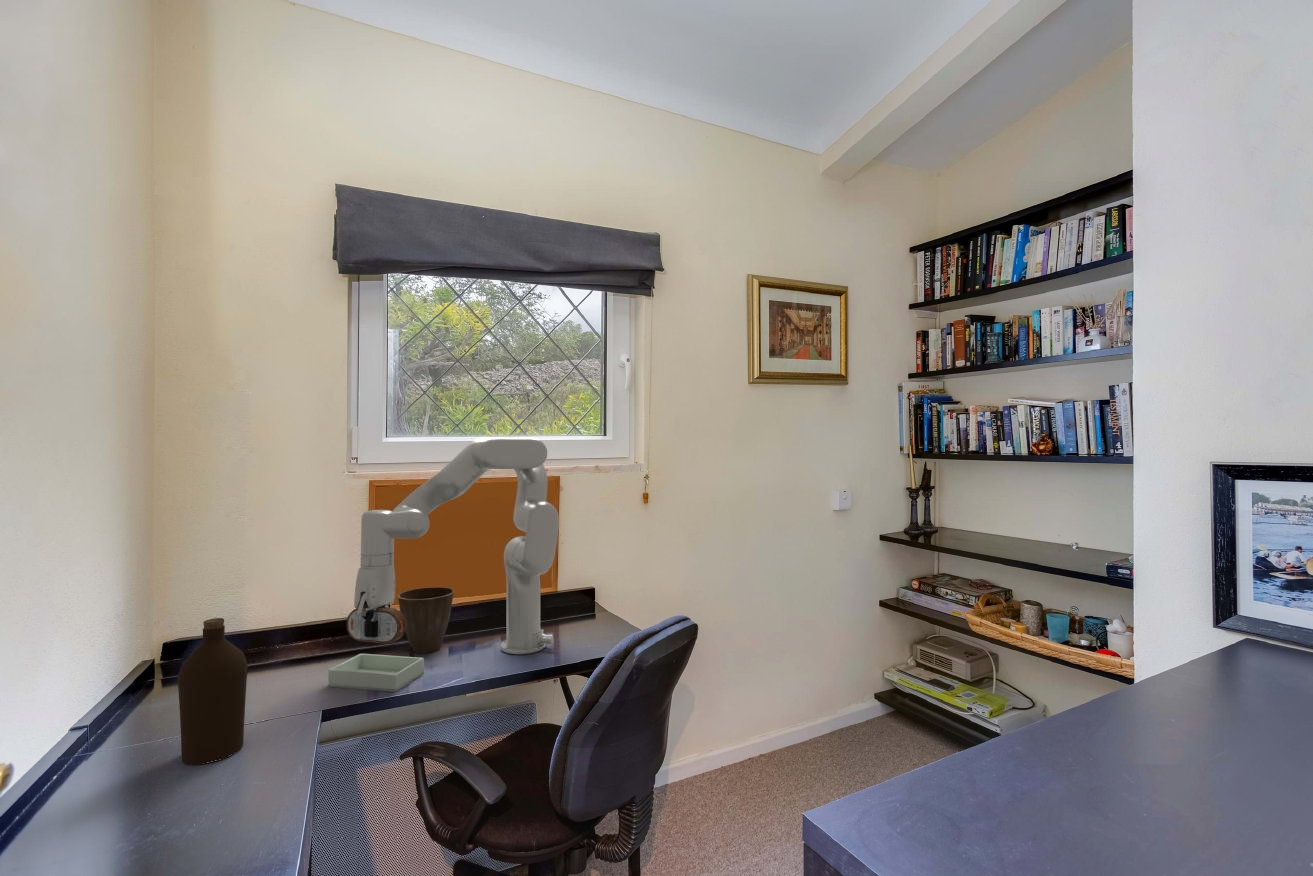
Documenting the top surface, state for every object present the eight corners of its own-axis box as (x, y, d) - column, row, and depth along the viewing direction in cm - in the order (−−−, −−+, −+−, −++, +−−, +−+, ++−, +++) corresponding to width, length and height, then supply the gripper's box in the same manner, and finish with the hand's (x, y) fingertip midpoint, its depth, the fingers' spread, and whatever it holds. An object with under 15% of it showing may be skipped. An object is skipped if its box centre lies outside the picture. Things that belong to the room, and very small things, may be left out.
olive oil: (204, 771, 107) (205, 631, 107) (163, 762, 110) (163, 625, 110) (260, 743, 117) (260, 614, 117) (220, 735, 120) (221, 610, 121)
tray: (423, 673, 152) (423, 658, 152) (395, 692, 141) (395, 675, 141) (360, 669, 156) (360, 653, 156) (328, 686, 144) (328, 670, 144)
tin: (405, 642, 148) (407, 608, 149) (397, 646, 145) (400, 610, 146) (351, 637, 151) (354, 603, 152) (342, 640, 148) (345, 606, 149)
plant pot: (385, 654, 167) (385, 596, 167) (425, 638, 181) (425, 584, 181) (427, 661, 161) (427, 601, 162) (464, 644, 175) (464, 589, 175)
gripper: (384, 554, 157) (382, 624, 157) (341, 565, 141) (339, 644, 141) (410, 555, 156) (408, 626, 156) (369, 567, 140) (367, 646, 140)
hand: (375, 634), depth 148 cm, fingers closed on tin, 2 cm apart
